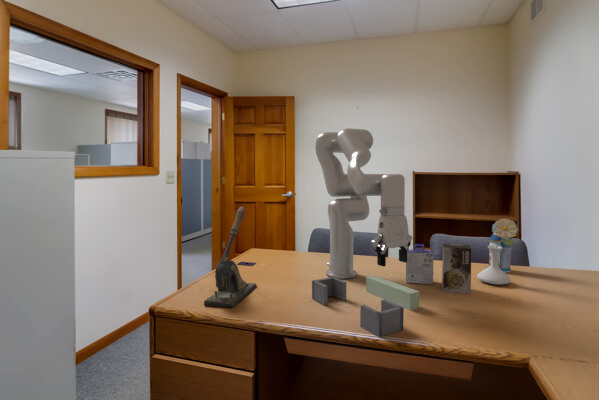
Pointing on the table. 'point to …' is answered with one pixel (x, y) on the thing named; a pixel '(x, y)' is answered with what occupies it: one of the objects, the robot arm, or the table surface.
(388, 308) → the cap fixed
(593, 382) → the table surface
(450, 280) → the coffee box
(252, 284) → the embossing press
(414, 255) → the ink cartridge box
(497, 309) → the table surface
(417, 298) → the pale green long block
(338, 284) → the cap sliding
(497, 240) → the beverage bottle
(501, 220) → the flower in vase
